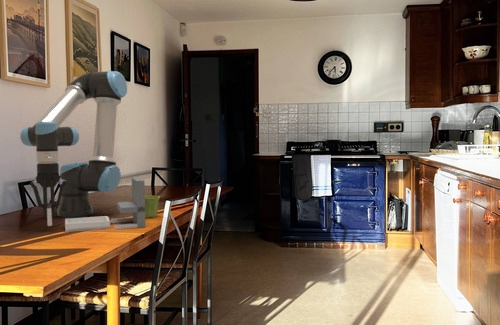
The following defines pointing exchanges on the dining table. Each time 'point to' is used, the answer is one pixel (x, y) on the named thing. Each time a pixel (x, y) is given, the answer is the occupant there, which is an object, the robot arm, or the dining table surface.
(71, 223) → the white rectangular slab
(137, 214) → the stand
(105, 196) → the dining table surface
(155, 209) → the plant pot
